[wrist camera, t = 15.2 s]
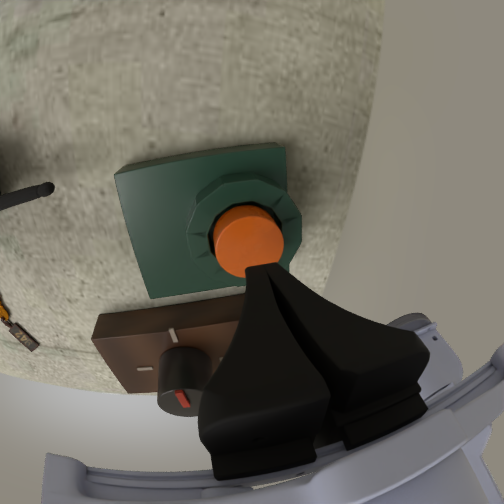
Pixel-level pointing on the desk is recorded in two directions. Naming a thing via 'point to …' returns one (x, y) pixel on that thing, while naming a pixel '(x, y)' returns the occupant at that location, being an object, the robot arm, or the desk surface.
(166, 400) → the knob
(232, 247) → the button
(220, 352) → the lock panel
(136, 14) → the desk surface
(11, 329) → the key tag
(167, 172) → the button block
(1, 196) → the walkie-talkie
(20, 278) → the desk surface
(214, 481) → the robot arm
